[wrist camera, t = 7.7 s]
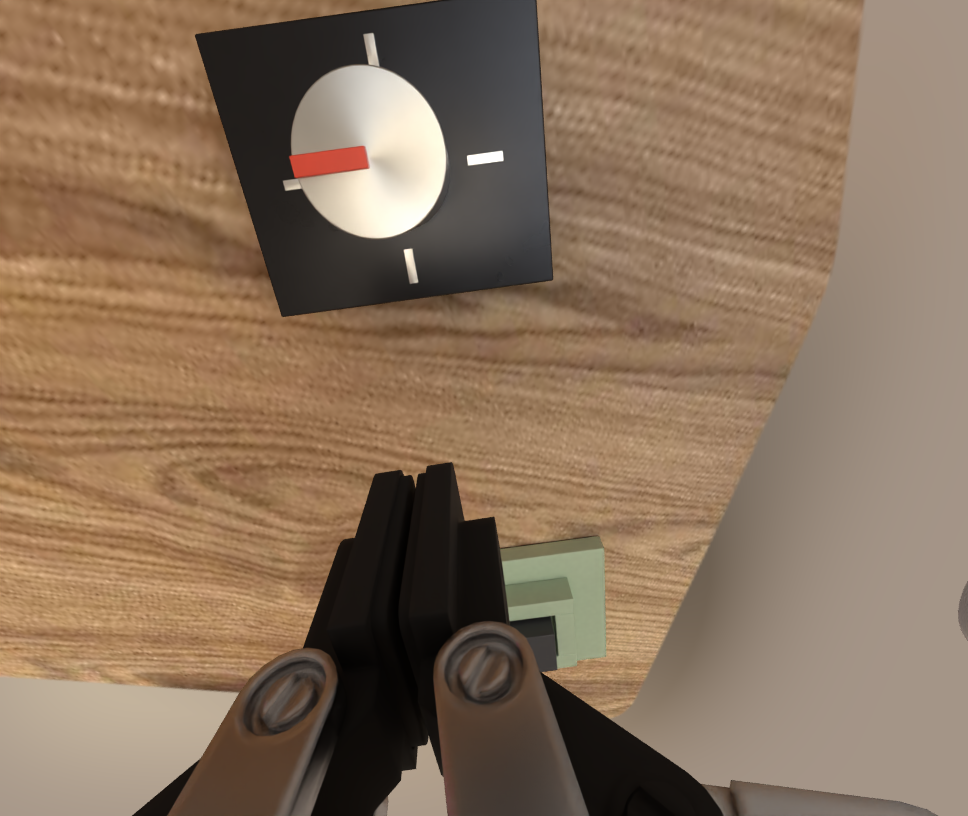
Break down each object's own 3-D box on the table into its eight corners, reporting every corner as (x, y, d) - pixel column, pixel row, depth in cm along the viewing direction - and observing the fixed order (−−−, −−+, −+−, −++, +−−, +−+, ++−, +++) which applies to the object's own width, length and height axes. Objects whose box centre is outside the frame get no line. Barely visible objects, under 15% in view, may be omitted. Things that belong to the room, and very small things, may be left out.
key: (550, 613, 28) (554, 634, 27) (553, 648, 30) (557, 670, 28) (499, 619, 28) (501, 641, 27) (504, 654, 30) (507, 677, 28)
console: (524, 18, 18) (536, -17, 16) (542, 271, 22) (554, 281, 20) (232, 59, 18) (190, 31, 16) (302, 304, 23) (280, 318, 20)
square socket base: (599, 535, 29) (613, 569, 27) (601, 642, 33) (614, 681, 31) (431, 557, 29) (428, 593, 27) (454, 661, 34) (453, 702, 31)
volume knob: (440, 96, 17) (432, 49, 12) (457, 223, 19) (457, 229, 14) (323, 112, 17) (264, 72, 12) (351, 238, 19) (311, 249, 14)
